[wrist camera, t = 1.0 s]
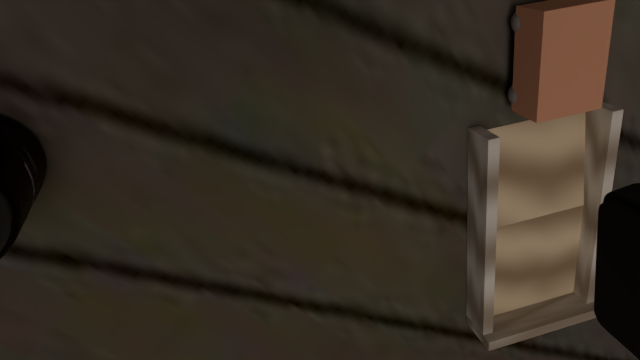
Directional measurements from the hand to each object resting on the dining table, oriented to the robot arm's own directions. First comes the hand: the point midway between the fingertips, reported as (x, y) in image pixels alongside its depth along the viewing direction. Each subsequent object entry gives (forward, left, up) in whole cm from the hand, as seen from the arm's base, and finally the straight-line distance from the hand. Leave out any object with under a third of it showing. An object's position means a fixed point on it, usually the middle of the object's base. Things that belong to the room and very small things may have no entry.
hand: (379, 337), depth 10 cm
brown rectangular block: (+5, +24, -29) cm, 38 cm away
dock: (+20, +24, -29) cm, 43 cm away
